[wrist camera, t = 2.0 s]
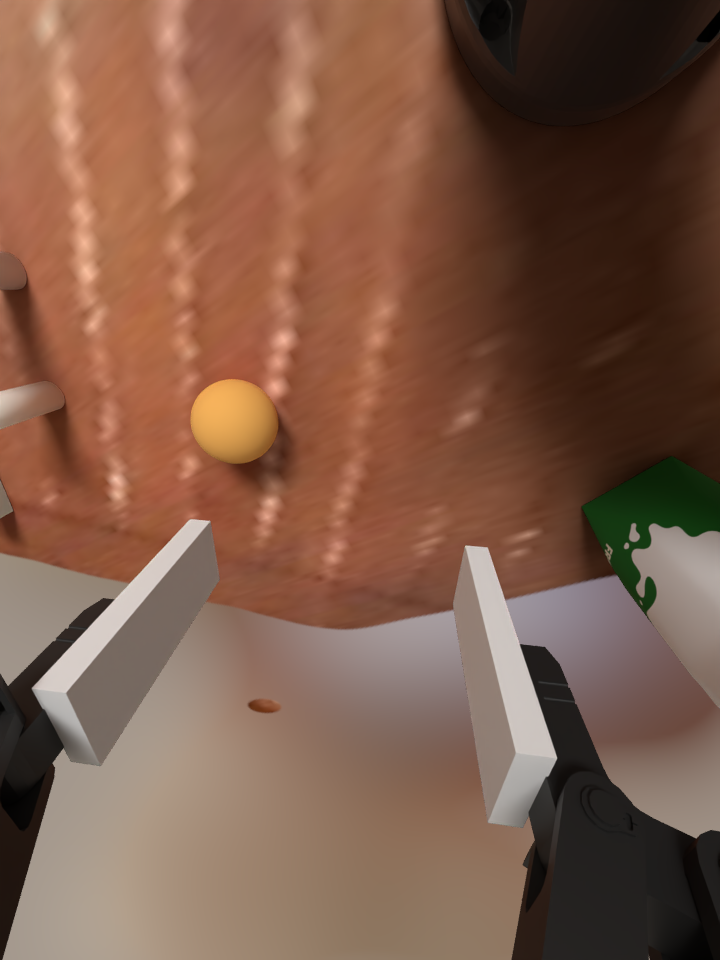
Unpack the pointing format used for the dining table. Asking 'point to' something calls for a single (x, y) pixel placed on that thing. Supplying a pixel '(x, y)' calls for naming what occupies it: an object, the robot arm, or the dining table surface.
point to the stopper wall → (4, 503)
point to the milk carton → (669, 558)
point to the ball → (234, 421)
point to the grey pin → (11, 272)
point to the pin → (29, 402)
